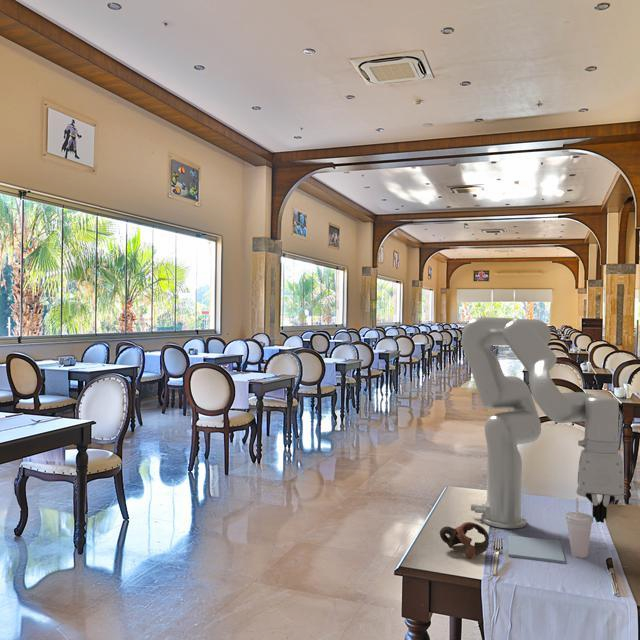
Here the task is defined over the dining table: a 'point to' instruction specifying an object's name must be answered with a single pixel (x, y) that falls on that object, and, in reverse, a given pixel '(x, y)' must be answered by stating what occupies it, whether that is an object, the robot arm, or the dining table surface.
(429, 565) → the dining table surface
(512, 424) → the robot arm
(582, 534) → the smoothie
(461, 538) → the brown twisted looped piece
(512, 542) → the mat
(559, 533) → the dining table surface
